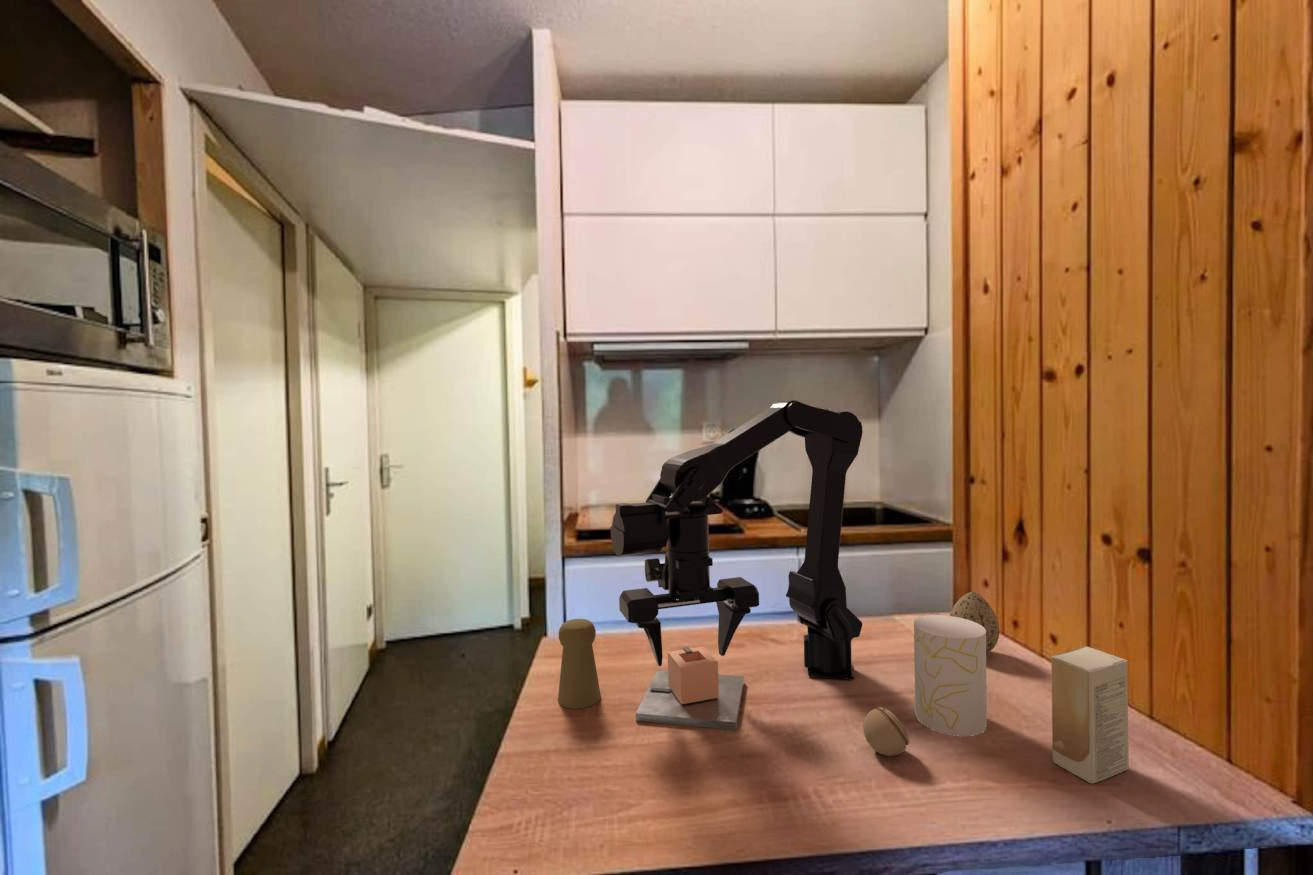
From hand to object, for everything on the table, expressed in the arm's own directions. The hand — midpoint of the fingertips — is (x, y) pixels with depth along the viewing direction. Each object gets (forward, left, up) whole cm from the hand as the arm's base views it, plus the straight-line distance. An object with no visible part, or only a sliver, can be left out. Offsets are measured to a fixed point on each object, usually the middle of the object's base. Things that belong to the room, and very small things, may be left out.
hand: (690, 659), depth 80 cm
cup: (-33, -1, -6) cm, 34 cm away
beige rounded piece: (-24, +8, -6) cm, 26 cm away
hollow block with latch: (0, 0, -5) cm, 5 cm away
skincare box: (-45, +7, -6) cm, 46 cm away
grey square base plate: (0, 0, -6) cm, 6 cm away
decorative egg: (-42, -23, -6) cm, 48 cm away
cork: (+16, +2, -6) cm, 17 cm away
